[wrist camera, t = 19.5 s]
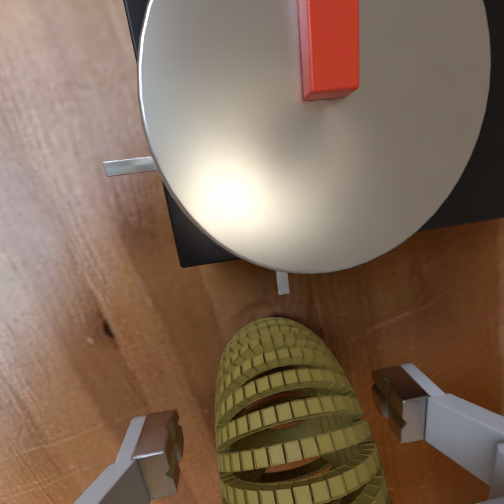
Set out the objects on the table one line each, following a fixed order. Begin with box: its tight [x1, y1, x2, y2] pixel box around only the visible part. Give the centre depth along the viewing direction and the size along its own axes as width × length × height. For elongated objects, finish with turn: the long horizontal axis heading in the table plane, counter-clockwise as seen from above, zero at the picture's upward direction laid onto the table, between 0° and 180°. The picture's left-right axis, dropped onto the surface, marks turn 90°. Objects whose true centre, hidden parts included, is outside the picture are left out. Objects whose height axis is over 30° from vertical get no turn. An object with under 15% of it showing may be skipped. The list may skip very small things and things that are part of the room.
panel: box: [103, 0, 504, 295], centre depth 8 cm, size 13×11×3 cm
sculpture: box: [215, 317, 392, 504], centre depth 8 cm, size 8×4×8 cm, turn 9°
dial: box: [137, 0, 491, 274], centre depth 5 cm, size 4×4×4 cm
